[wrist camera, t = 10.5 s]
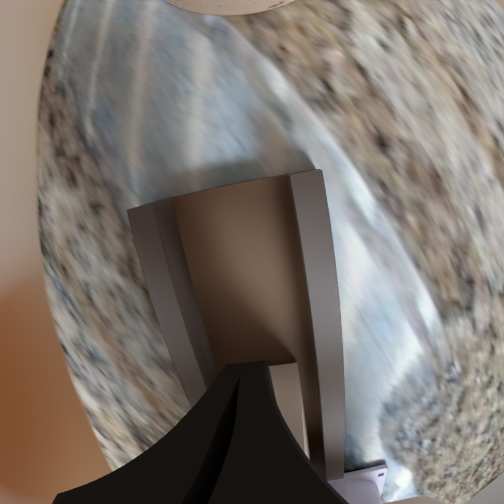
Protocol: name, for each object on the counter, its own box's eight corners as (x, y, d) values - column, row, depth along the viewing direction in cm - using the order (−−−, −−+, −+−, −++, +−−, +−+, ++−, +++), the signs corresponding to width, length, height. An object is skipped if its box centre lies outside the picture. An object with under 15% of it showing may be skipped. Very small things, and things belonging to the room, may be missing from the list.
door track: (341, 441, 16) (350, 490, 12) (232, 452, 16) (225, 500, 12) (316, 169, 12) (336, 168, 8) (153, 202, 12) (106, 216, 9)
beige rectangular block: (297, 362, 13) (307, 501, 6) (309, 449, 15) (315, 551, 8) (231, 370, 13) (203, 504, 6) (258, 454, 15) (250, 554, 8)
